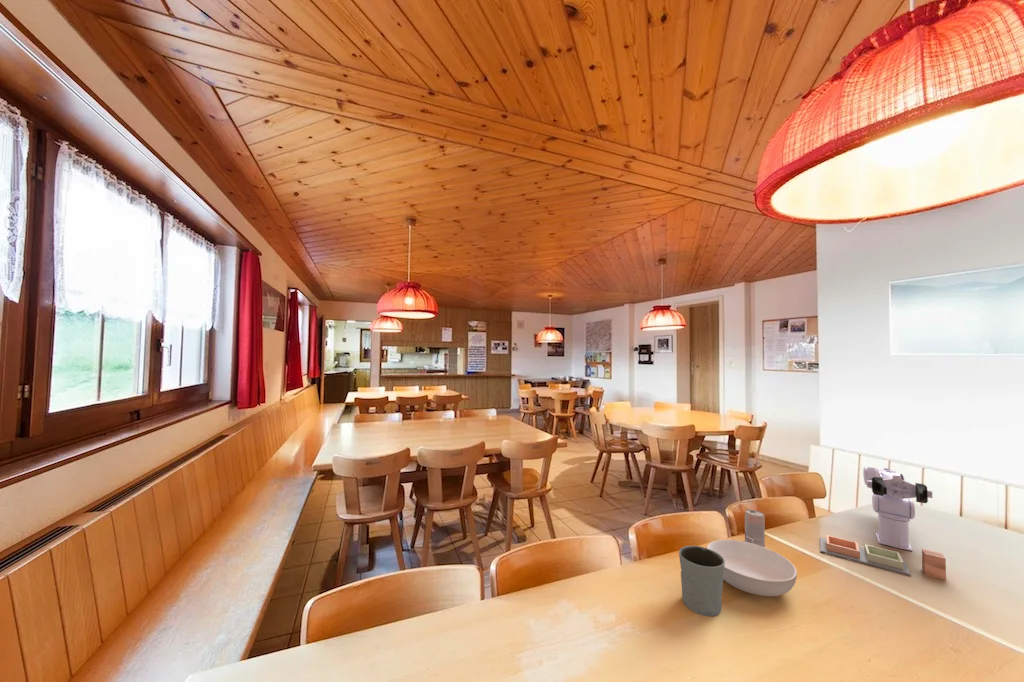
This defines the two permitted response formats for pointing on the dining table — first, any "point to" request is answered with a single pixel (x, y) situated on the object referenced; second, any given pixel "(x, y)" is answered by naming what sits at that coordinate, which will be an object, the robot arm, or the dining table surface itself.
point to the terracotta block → (933, 564)
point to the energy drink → (755, 527)
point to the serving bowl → (755, 568)
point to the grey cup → (701, 579)
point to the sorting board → (864, 554)
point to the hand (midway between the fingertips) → (903, 493)
